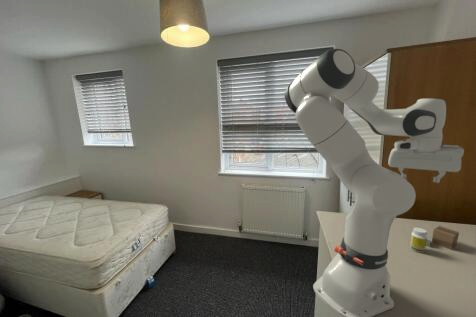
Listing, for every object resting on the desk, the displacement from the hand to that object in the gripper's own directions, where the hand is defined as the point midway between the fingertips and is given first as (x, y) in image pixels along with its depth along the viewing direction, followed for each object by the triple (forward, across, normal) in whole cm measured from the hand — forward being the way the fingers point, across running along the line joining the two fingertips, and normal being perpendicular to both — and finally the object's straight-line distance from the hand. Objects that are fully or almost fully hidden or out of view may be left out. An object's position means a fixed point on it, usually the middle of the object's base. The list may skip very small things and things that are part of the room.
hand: (419, 180), depth 78 cm
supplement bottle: (+29, -2, 0) cm, 29 cm away
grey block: (+29, -6, -7) cm, 30 cm away
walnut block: (+29, -13, -11) cm, 33 cm away
